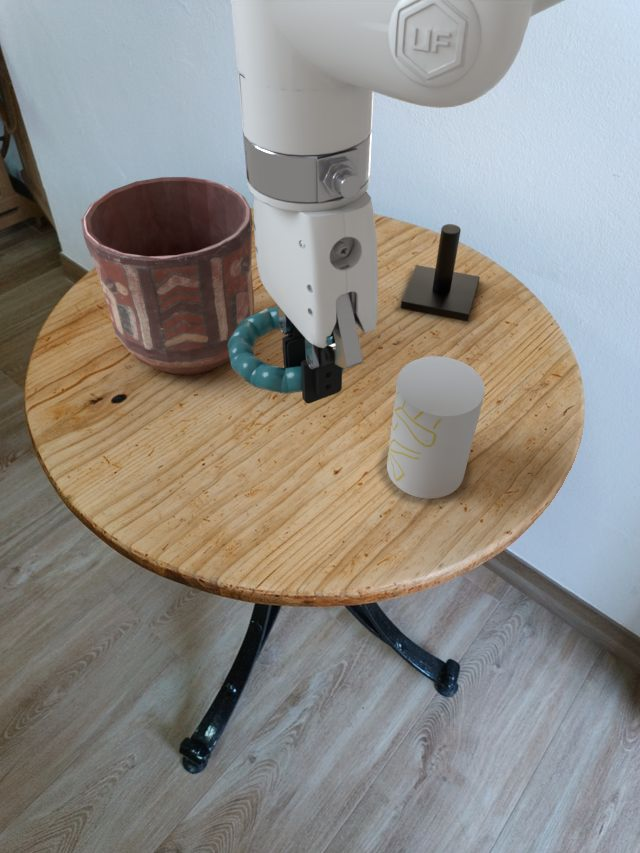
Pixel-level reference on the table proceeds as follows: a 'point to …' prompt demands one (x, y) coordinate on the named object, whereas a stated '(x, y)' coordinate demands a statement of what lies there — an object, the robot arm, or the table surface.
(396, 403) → the grey cylinder
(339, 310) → the robot arm
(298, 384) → the ring
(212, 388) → the table surface
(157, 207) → the pottery
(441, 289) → the peg stand
